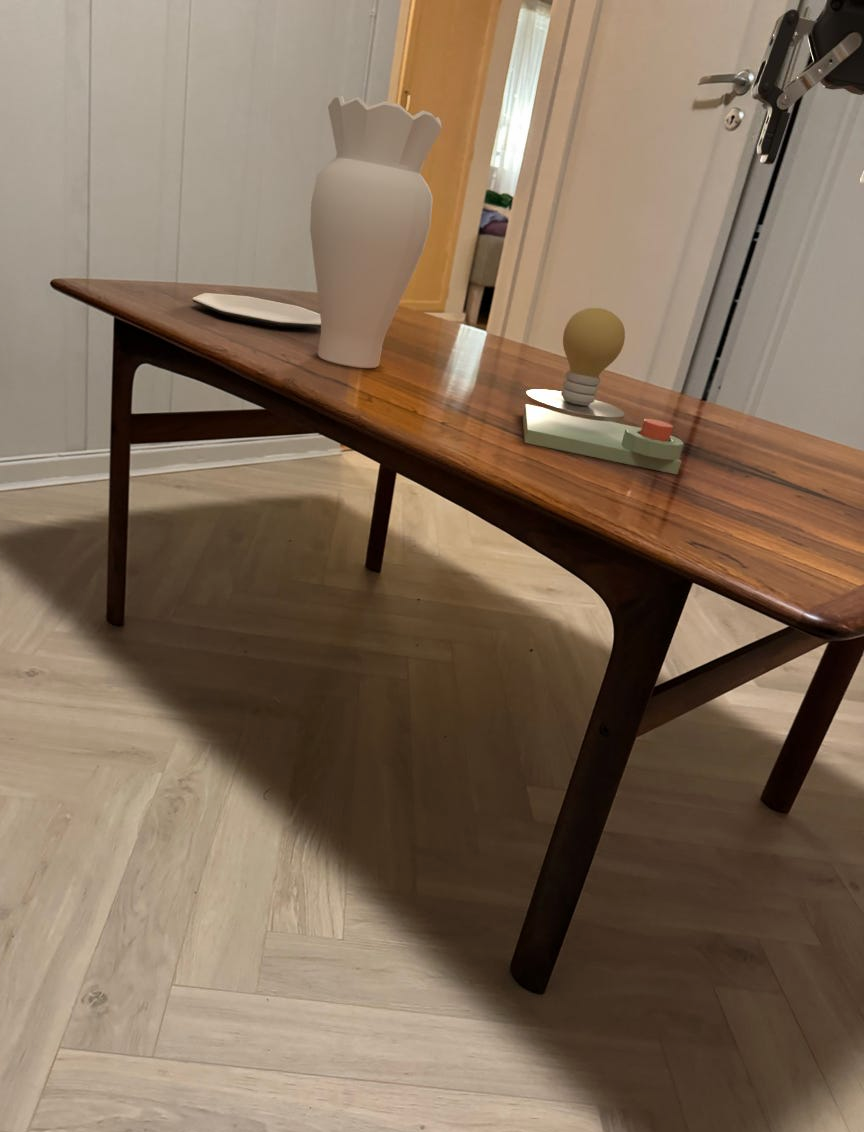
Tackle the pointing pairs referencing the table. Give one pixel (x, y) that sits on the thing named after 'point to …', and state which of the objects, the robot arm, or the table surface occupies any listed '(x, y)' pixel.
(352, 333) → the vase
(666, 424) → the button
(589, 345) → the light bulb
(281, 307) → the plate
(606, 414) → the scale pan
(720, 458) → the table surface
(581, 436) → the scale
